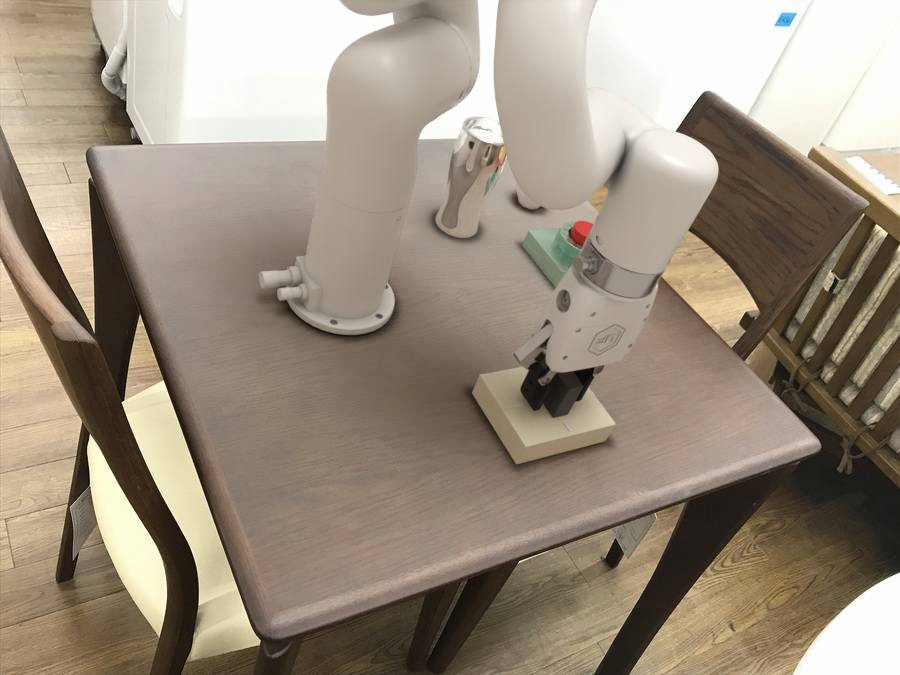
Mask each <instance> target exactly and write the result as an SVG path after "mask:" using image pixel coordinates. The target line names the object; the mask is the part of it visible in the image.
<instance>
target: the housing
mask: <svg viewBox="0 0 900 675" xmlns="http://www.w3.org/2000/svg"><path fill="white" fill-rule="evenodd" d="M575 222H576V221H567V222H565V223H564V224H562V225H561V226H560V227H556V228H554V227H553V228H539V229H529V230H527V232H526V235H525V237H524V239H523V242H522V245H521V247H522V248H523V249H524V250H525V252H526V253H527V254H528V255H529V257H530V258H531V259H532V260H533V262H534V263H535V264H536V265H537V267H538V268H539V269H540V270H541V272H542V273H543V274H544V276H546V278H547V279H548V280H549V282H550V283H551V284H552V285H553V286H554V288H556V287H557V285H558V284H559V282H560V281H561V279H562V278H563V276H564V275H565V274H566V272H567V271H568V270H569V268H570V267H571V266H572V265H573V262H574V259H575V258H576V257H578V255H579V253H580V251H581V249H582V247H583V246H581V245H579V244H578V243H576V242H574V241H573V240H572V239H571V238H570V232H571V230H572V228H573V225H574V223H575Z"/></svg>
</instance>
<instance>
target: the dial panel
mask: <svg viewBox="0 0 900 675" xmlns="http://www.w3.org/2000/svg"><path fill="white" fill-rule="evenodd" d="M528 371H529V370H528V369H525V368H524V367H523V366H519V367H514V368H508V369H502V370H498V371H491V372H486V373H481V374H479V376H478V378H477V380H476V382H475V385H474V387H473V389H472V392H471V394H472V396H473V397H474V399H475V401H476V402H477V404H478V406H479V407H480V409H481V411H482V412H483V413H484V415H485V417H486V419H487V420H488V421H489V424H490V425H491V427H492V428H493V430H494V431H495V433H496V434H497V436H498V438H499V439H500V441H501V443H502V444H503V446H504V448H505V449H506V450H507V452H508V454H509V455H510V457H511V459H512V461H513V463H514V464H515V465H520V464H524V463H528V462H531V461H536V460H539V459H543V458H546V457H551V456H554V455H559V454H562V453H566V452H570V451H575V450H577V449H581V448H584V447H585V448H586V447H589V446H593V445H597V444H601V443H603V442H606V441H607V439H608V438H609V436H610V435H611V433H612V431H613V430H614V429H615V427H616V426H617V423H616V422H615V421H614V419H613V418H612V416H611V415H610V414H609V413H608V411H607V410H606V408H605V407H604V405H603V404H602V403H601V402H600V400H599V399H598V398H597V396H596V395H595V394H594V392H593V391H592V389H591V388H590V386H589V387H588V389H587V391H586V393H585V394H584V396H583V398H582V400H581V401H577V402H576V401H575V403H574V404H573V406H572V408H571V410H570V411H569V413H568V415H564V416H559V417H555V418H553V417H552V416H551V414H550V413H549V411H548V410H547V409H546V407H545V406H544V404H542V406H541V408H540V409H539V410H536V411H534V410H533V409H532V408H531V406H530V405H529V403H528V402H527V400H526V399H525V398H524V396H523V395H522V393H521V391H520V388H521V386H522V383H523V381H524V379H525V377H526V375H527V373H528Z"/></svg>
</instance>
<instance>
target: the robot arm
mask: <svg viewBox="0 0 900 675" xmlns="http://www.w3.org/2000/svg"><path fill="white" fill-rule="evenodd" d="M338 1H339V2H340V3H341V4H342V6H344V7H345V8H346V9H347V10H349V11H351V12H352V13H355V14H357V15H361V16H367V17H368V16H369V17H375V16H382V15H383V16H384V15H388V14H392V19H393V24H389V25H387V26H384V27H382V28H380V29H376V30H374V31H372V32H369V33H367V34H365V35H363V36H361V37H359V38H357V39H356V40H354V41H353V42H351V43H350V44H349V45H347V46H346V47H345V48H344V49H343V50H342V51H341V52H340V53H339V55H338V56H337V57H336V58H335V60H334V62H333V63H332V66H331V68H330V70H329V74H328V78H327V82H326V135H325V141H324V142H325V144H324V151H323V156H322V163H321V169H320V174H319V181H318V186H317V191H316V196H315V202H314V208H313V213H312V219H311V224H310V230H309V233H308V240H307V245H306V250H305V255H298V256H296V257H295V263H294V265H291V266H287V267H286V269H285V270H276V269H275V270H264V271H263V270H262V271H259V273H258V282H259V286H260V288H261V290H267V289H276V295H277V299H278V301H280V302H281V301H287V303H288V305H289V307H290V309H291V310H292V311H293V312H294V313H295V315H297V316H298V317H299V318H300V319H301V320H303V321H304V322H305V323H307V324H308V325H311V326H312V327H314V328H316V329H319V330H321V331H324V332H327V333H332V334H335V335H343V336H357V335H364V334H368V333H371V332H375V331H376V330H378V329H380V328H382V327H383V326H385V324H387V323H388V321H389V320H390V318H391V317H392V314H393V312H394V309H395V303H396V299H395V298H396V297H395V294H394V291H393V288H392V287H391V285H390V284H389V282H388V280H389V277H390V273H391V270H392V266H393V263H394V259H395V255H396V253H397V248H398V245H399V241H400V238H401V233H402V230H403V227H404V223H405V220H406V218H407V217H406V216H407V213H408V209H409V206H410V202H411V198H412V195H413V191H414V187H415V184H416V180H417V174H418V164H419V161H418V160H419V159H418V158H419V157H418V143H419V139H420V136H421V134H422V131H423V130H424V129H425V127H426V126H427V125H429V124H430V123H432V122H433V121H435V120H437V119H438V118H439V117H441V116H442V115H444V114H446V113H447V112H449V111H450V110H452V109H454V108H455V107H457V106H458V105H460V104H461V103H462V102H463V101H464V100H465V99H466V98H468V96H469V95H470V94H471V92H472V91H473V89H474V88H475V86H476V83H477V81H478V77H479V72H480V71H479V70H480V67H481V66H480V65H481V36H480V35H481V34H480V32H481V31H480V17H479V14H480V12H479V0H338ZM596 2H597V0H498V2H497V11H496V23H495V39H494V51H493V88H494V89H493V91H494V99H495V105H496V111H497V116H498V122H499V123H500V127H501V132H502V137H503V142H504V146H505V151H506V155H507V162H508V164H509V167H510V171H511V173H512V175H513V178H514V180H515V182H516V184H517V183H518V185H519V187H520V188H521V190H522V191H523V192H524V193H525V195H526V196H527V197H528V198H529V199H531V200H532V201H533V202H534V203H536V204H538V205H540V207H541V208H545V209H549V210H552V211H565V210H572V209H574V208H577V207H579V206H581V205H583V204H585V203H586V202H587V201H588V200H590V199H591V198H592V197H593V196H594V195H595V194H596V193H597V192H598V191H600V190H601V188H602V187H603V186H605V187H606V189H607V194H606V197H605V199H604V201H603V203H602V205H601V207H600V210H599V211H598V214H597V216H596V218H595V220H594V222H593V223H592V224H593V226H592V228H591V230H590V232H589V234H588V236H587V238H586V240H585V242H584V245H583V247H582V249H581V251H580V253H579V255H578V257H576V258H575V259H574V262H573V265H572V266H571V267H570V268H569V270H568V271H567V272H566V274H565V275H564V276H563V278H562V279H561V281H560V282H559V284H558V285H557V287H554V289H553V291H552V293H551V294H550V296H549V298H548V300H546V303H545V305H544V307H543V309H542V310H541V313H540V314H539V316H538V318H537V320H536V323H535V325H534V327H533V330H532V332H531V335H530V338H529V339H528V340H527V341H526V342H524V343H523V344H522V345H521V346H520V347H519V348H517V349H516V350H515V351H514V353H513V357H514V358H515V360H516V361H517V363H518V364H519V365H520V367H524V368H525V369H528V370H529V371H528V373H527V375H526V377H525V379H524V381H523V383H522V386H521V388H520V391H521V393H522V395H523V396H524V398H525V399H526V400H527V402H528V403H529V405H530V406H531V408H532V409H533V410H534V411H536V410H539V409H540V408H541V406H542V404H543V402H544V401H545V399H546V397H547V395H548V393H549V391H550V389H551V387H552V384H551V382H550V381H551V379H552V378H553V377H554V375H555V374H556V373H557V372H570V371H573V372H574V374H575V375H576V376H577V378H578V379H579V380H580V382H581V383H582V385H583V386H584V387H583V389H582V390H581V392H580V394H579V396H578V397H577V399H576V402H577V401H581V400H582V398H583V396H584V394H585V393H586V391H587V389H588V387H589V388H590V386H591V384H592V382H593V380H594V379H595V376H597V375H599V374H601V373H602V372H603V370H604V367H605V365H610V364H614V363H615V364H616V363H618V362H620V361H622V360H624V359H625V358H626V357H627V356H628V355H629V353H630V352H631V350H632V349H633V347H634V345H635V343H636V342H637V340H638V338H639V336H640V334H641V332H642V330H643V328H644V326H645V324H646V322H647V320H648V318H649V315H650V313H651V311H652V308H653V305H654V302H655V300H656V296H657V293H658V290H659V281H660V280H661V279H662V276H663V274H664V273H665V271H666V269H667V268H668V266H669V264H670V263H671V261H672V259H673V257H674V255H675V254H676V253H677V251H678V249H679V248H680V245H681V243H682V242H683V240H684V238H685V237H686V235H687V233H688V231H689V230H690V228H691V226H692V224H693V223H694V221H695V220H696V218H697V217H698V214H699V213H700V212H701V210H702V208H703V206H704V204H705V202H706V201H707V199H708V197H709V196H710V195H711V193H712V190H713V189H714V187H715V185H716V183H717V181H718V178H719V169H720V168H719V164H718V161H717V159H716V157H715V156H714V154H713V153H712V152H711V150H709V148H708V147H706V146H705V145H704V144H702V143H701V142H699V141H698V140H696V139H694V138H693V137H690V136H688V135H686V134H683V133H681V132H679V131H675V130H672V129H667V128H666V127H664V126H662V125H661V124H659V123H658V122H657V121H656V120H654V119H652V118H651V117H650V116H649V115H647V114H646V113H644V111H642V110H641V109H639V108H638V107H637V106H635V105H634V104H633V103H631V102H630V101H628V100H627V99H626V98H624V97H623V96H621V95H620V94H618V93H616V92H614V91H612V90H609V89H607V88H602V87H588V86H587V69H586V61H587V60H586V58H587V57H586V56H587V42H588V41H587V40H588V35H589V34H588V33H589V27H590V23H591V18H592V14H593V11H594V7H595V4H596ZM545 357H546V364H547V365H548V367H547V368H546V369H544V367H543V366H542V365H541V362H542V361H543V359H544V358H545Z"/></svg>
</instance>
